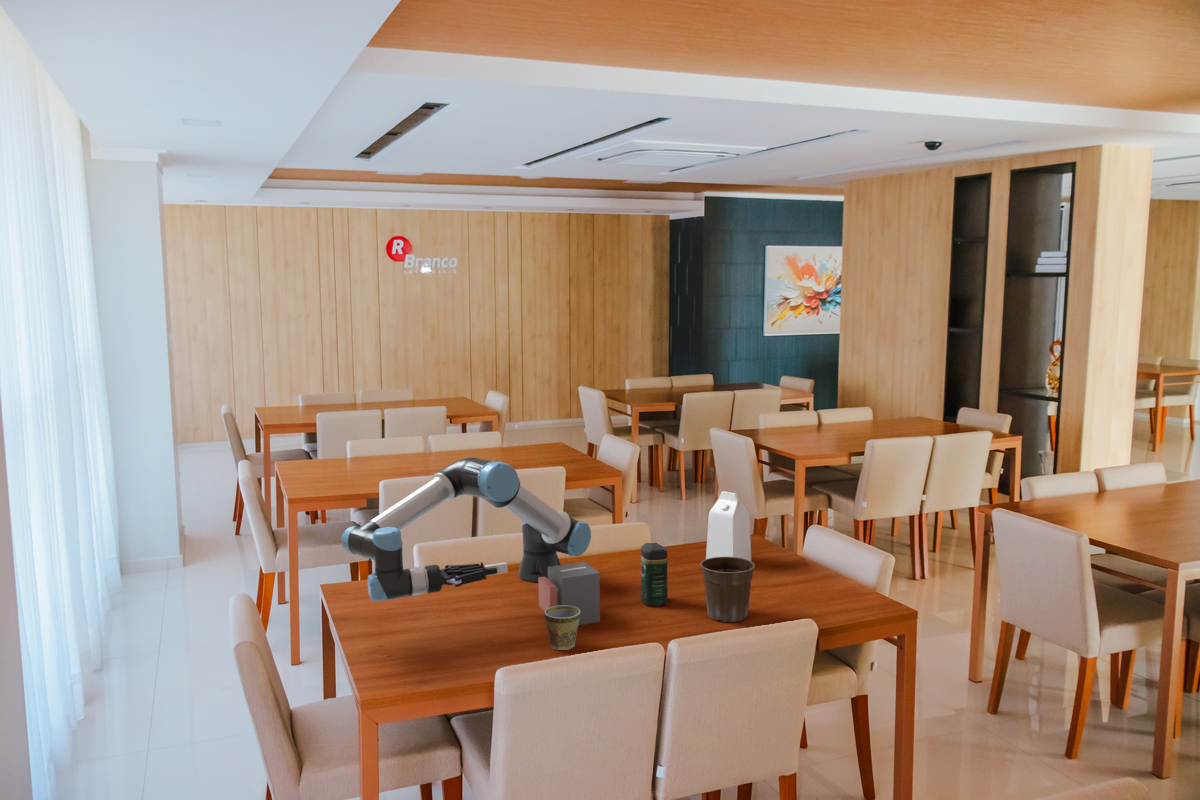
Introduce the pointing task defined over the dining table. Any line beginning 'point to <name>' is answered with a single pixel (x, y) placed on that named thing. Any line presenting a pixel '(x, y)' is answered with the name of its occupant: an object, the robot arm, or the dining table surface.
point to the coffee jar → (653, 574)
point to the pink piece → (547, 594)
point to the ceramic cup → (562, 626)
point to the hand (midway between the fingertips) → (506, 567)
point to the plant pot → (727, 587)
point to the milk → (728, 528)
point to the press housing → (578, 589)
